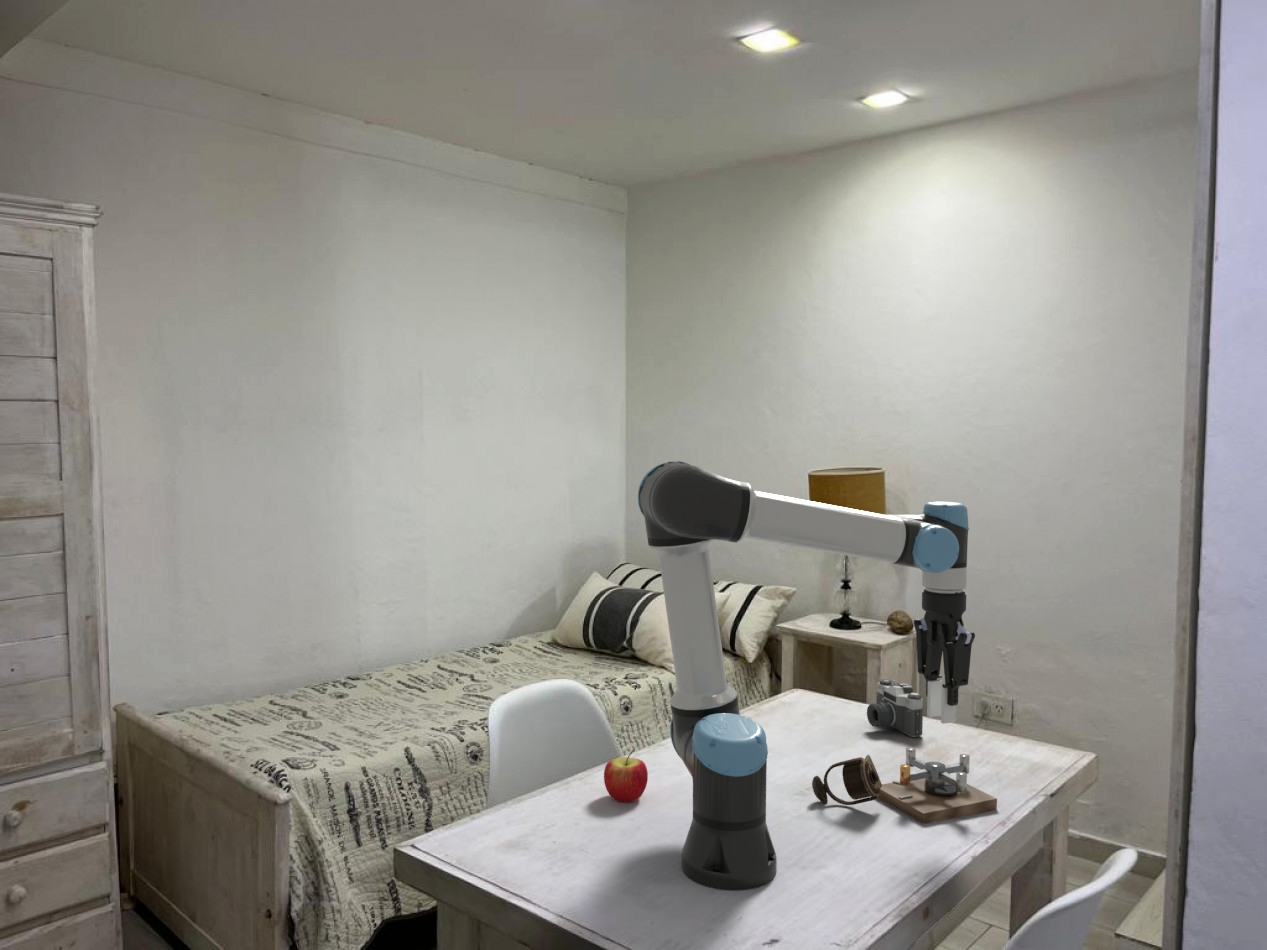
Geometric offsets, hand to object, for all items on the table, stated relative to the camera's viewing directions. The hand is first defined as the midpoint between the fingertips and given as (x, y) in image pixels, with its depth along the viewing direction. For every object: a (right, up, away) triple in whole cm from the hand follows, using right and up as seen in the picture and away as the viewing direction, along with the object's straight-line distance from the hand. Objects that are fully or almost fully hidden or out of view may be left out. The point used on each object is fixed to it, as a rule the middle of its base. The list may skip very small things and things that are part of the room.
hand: (941, 718), depth 174 cm
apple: (-57, -18, +10) cm, 60 cm away
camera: (+5, -15, +53) cm, 55 cm away
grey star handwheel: (+2, -16, +9) cm, 18 cm away
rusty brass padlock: (-16, -18, +6) cm, 25 cm away
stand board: (+2, -18, +9) cm, 20 cm away
